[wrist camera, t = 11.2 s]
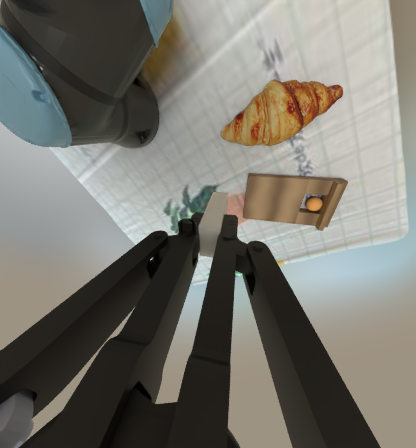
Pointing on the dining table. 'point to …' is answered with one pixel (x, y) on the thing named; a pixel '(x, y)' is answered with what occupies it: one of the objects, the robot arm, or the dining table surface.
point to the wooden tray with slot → (291, 198)
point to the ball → (314, 204)
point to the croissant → (281, 112)
